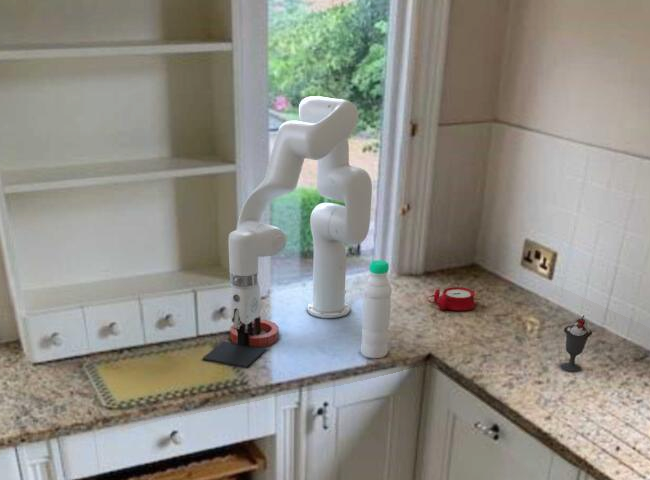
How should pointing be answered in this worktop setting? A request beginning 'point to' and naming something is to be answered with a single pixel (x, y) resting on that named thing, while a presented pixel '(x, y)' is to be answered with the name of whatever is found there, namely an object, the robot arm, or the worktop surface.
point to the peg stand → (258, 327)
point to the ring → (259, 340)
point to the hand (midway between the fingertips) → (245, 342)
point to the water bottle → (376, 311)
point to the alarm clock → (454, 299)
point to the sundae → (575, 343)
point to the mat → (234, 354)
